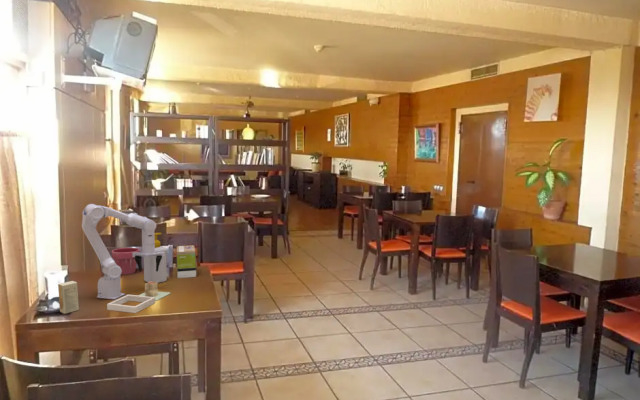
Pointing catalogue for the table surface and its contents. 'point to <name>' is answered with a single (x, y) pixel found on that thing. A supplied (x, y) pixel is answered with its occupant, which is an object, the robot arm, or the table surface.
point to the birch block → (151, 289)
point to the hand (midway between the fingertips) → (149, 271)
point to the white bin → (132, 309)
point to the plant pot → (125, 259)
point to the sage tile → (159, 296)
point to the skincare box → (68, 297)
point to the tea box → (186, 261)
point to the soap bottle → (150, 264)
